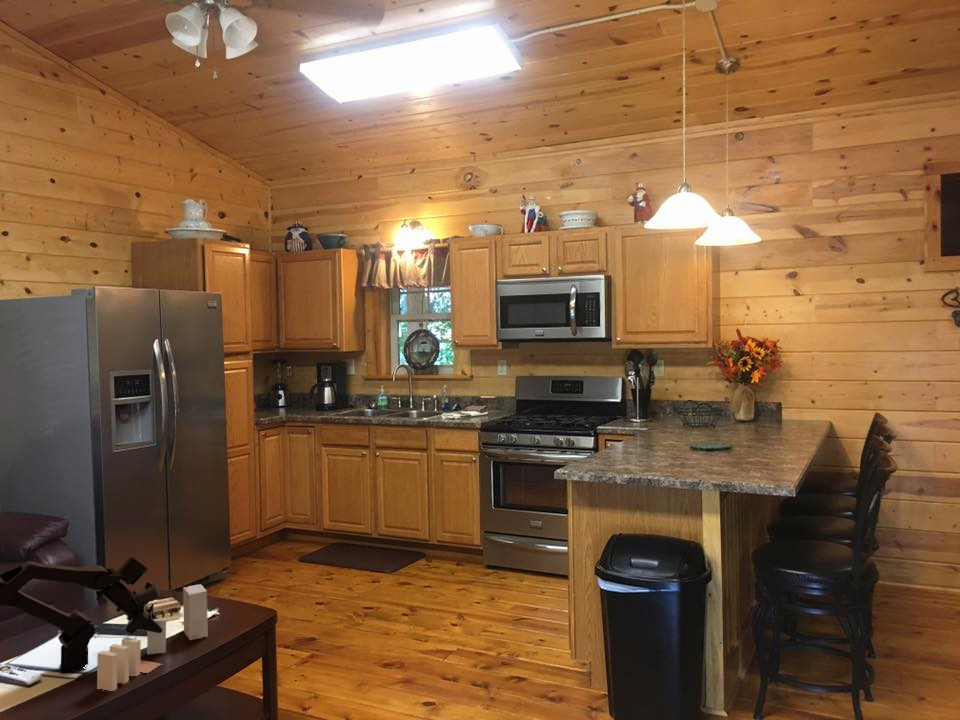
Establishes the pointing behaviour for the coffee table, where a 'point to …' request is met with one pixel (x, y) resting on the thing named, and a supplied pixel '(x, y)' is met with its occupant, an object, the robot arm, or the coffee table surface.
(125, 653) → the domino
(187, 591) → the skincare box
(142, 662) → the tile
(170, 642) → the coffee table surface
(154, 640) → the domino
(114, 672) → the domino
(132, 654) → the domino
